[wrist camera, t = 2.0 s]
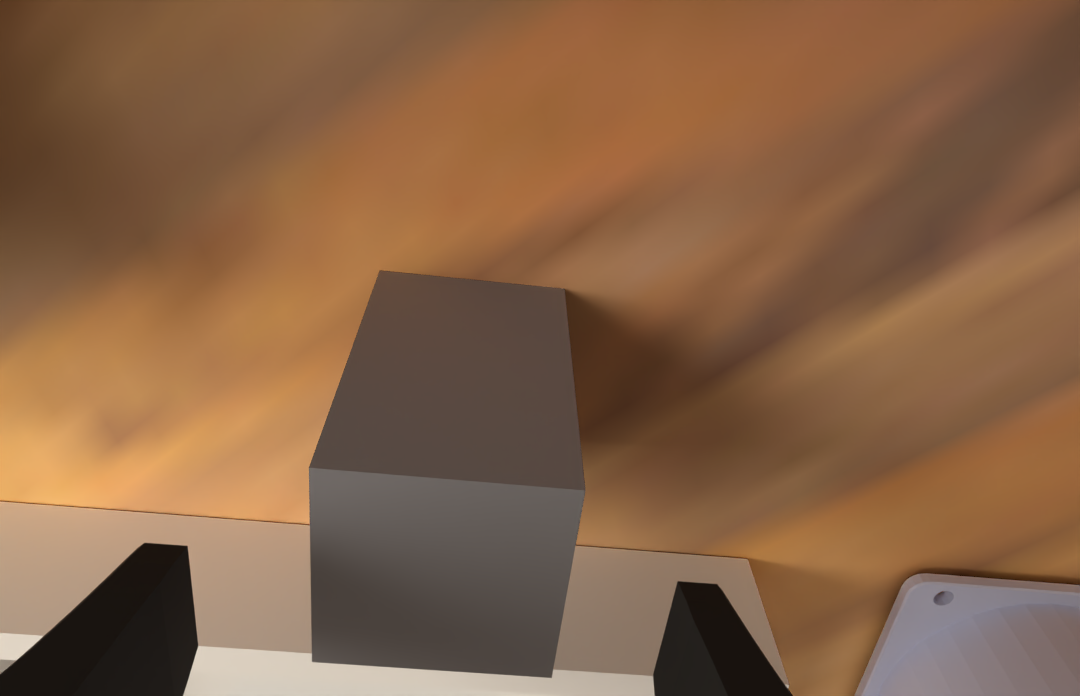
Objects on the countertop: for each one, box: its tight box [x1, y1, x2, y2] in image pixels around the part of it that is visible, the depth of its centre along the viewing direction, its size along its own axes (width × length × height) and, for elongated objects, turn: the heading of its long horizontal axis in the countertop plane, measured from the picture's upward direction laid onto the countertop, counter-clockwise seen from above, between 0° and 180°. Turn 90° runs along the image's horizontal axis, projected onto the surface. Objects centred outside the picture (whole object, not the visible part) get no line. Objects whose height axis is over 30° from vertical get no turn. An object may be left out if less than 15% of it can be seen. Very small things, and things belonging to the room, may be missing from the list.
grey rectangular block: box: [309, 271, 585, 678], centre depth 16 cm, size 4×4×7 cm
